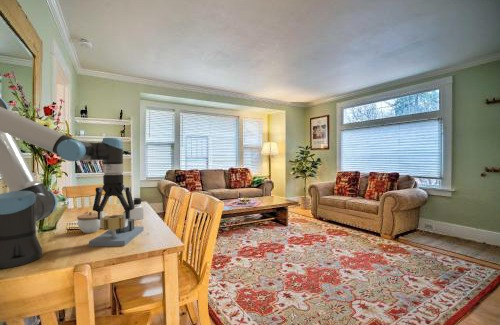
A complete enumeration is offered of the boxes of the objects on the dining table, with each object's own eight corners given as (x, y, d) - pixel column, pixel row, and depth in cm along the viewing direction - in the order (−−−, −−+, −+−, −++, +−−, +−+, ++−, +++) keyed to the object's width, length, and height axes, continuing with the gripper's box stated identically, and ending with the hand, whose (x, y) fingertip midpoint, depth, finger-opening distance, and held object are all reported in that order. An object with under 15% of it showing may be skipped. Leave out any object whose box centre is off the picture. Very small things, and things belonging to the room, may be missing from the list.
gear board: (88, 246, 104) (88, 229, 104) (114, 230, 126) (114, 216, 126) (124, 245, 105) (124, 228, 105) (143, 230, 127) (143, 216, 127)
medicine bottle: (140, 216, 156) (139, 196, 156) (143, 218, 150) (143, 198, 150) (127, 218, 151) (127, 198, 151) (130, 220, 146) (130, 199, 146)
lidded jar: (108, 228, 130) (108, 210, 130) (93, 234, 119) (93, 214, 119) (88, 227, 131) (88, 209, 131) (71, 234, 120) (71, 214, 120)
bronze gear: (98, 230, 106) (97, 219, 105) (108, 224, 114) (108, 214, 114) (120, 229, 106) (120, 219, 106) (128, 224, 115) (128, 214, 115)
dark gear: (110, 233, 115) (110, 223, 115) (115, 228, 124) (115, 218, 123) (131, 232, 117) (131, 222, 117) (135, 226, 126) (135, 217, 126)
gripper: (81, 174, 105) (82, 229, 106) (136, 174, 107) (136, 228, 107) (91, 173, 113) (92, 224, 113) (142, 173, 114) (143, 223, 115)
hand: (114, 226), depth 110 cm, fingers closed on bronze gear, 9 cm apart
